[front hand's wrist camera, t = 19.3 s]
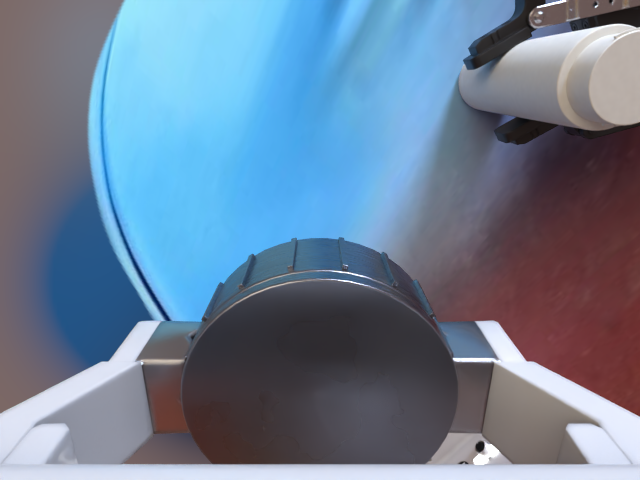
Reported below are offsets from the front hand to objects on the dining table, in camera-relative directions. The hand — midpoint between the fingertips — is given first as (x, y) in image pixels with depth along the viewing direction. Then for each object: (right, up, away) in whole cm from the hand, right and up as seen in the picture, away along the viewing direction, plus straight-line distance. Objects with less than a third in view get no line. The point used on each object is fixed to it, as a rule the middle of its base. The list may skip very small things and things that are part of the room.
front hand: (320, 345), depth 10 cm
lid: (0, -1, -2) cm, 2 cm away
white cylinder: (+13, +15, +24) cm, 31 cm away
